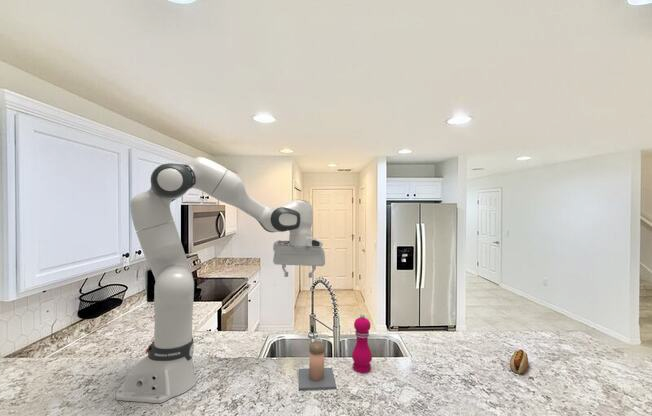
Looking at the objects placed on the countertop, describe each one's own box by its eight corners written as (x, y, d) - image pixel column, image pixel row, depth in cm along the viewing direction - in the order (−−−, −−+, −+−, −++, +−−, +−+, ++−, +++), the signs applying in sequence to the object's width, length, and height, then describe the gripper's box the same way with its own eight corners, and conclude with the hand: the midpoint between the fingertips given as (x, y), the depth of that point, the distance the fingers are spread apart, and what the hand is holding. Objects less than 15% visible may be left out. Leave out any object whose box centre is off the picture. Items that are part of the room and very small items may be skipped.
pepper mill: (371, 375, 106) (371, 317, 106) (350, 372, 107) (351, 316, 108) (372, 365, 113) (372, 311, 113) (353, 362, 114) (353, 309, 115)
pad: (299, 390, 96) (299, 388, 96) (298, 371, 108) (298, 368, 108) (336, 389, 97) (336, 386, 97) (331, 369, 109) (332, 367, 109)
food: (526, 378, 105) (526, 363, 106) (507, 372, 109) (507, 358, 109) (529, 362, 116) (529, 349, 116) (513, 358, 120) (513, 345, 120)
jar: (309, 381, 99) (309, 348, 100) (307, 373, 105) (308, 341, 105) (325, 381, 100) (326, 347, 100) (323, 372, 105) (323, 340, 106)
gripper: (273, 240, 114) (270, 277, 113) (326, 242, 116) (324, 279, 115) (274, 239, 120) (272, 274, 119) (325, 242, 122) (323, 276, 121)
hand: (298, 277), depth 117 cm, fingers open, 8 cm apart
